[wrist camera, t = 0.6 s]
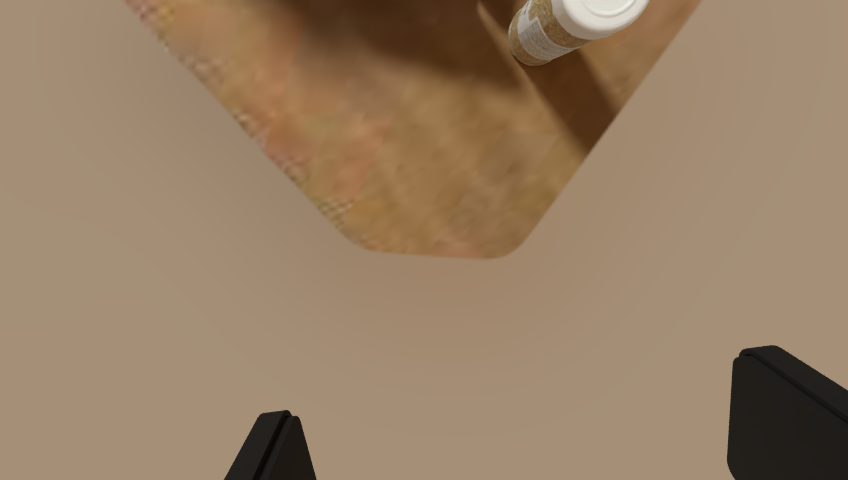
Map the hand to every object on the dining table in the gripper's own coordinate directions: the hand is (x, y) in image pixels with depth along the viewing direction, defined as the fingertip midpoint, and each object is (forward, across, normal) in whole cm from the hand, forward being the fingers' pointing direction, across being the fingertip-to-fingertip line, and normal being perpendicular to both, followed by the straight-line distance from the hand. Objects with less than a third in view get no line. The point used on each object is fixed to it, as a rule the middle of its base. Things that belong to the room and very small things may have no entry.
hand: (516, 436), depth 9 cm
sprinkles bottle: (+28, -9, -12) cm, 32 cm away
